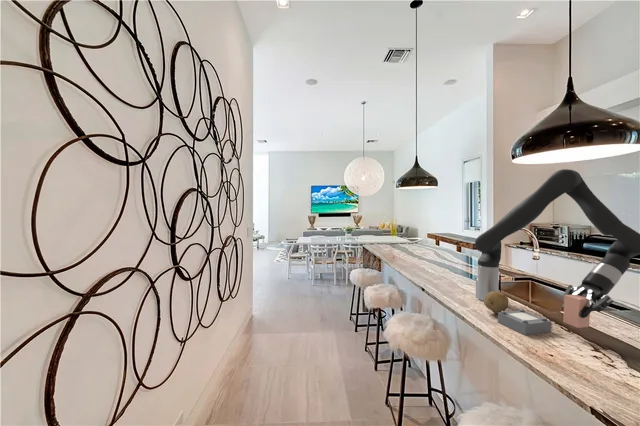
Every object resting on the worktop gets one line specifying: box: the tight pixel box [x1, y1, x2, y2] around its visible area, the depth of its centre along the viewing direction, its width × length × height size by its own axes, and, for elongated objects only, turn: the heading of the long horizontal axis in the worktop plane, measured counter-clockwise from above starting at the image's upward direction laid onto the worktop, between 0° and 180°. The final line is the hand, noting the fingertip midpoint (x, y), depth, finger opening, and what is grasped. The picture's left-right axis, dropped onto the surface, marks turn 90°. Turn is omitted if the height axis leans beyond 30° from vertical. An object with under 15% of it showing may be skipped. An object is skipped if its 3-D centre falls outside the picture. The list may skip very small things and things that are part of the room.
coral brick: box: [562, 294, 591, 329], centre depth 103 cm, size 5×5×10 cm
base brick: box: [497, 308, 552, 336], centre depth 112 cm, size 12×12×5 cm
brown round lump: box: [483, 290, 510, 315], centre depth 126 cm, size 9×9×10 cm
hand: (572, 312), depth 102 cm, fingers closed on coral brick, 5 cm apart
